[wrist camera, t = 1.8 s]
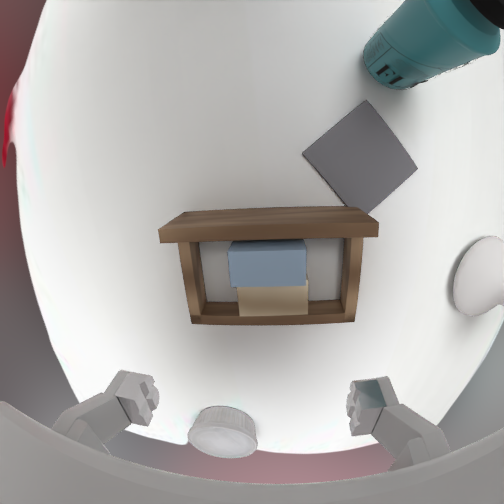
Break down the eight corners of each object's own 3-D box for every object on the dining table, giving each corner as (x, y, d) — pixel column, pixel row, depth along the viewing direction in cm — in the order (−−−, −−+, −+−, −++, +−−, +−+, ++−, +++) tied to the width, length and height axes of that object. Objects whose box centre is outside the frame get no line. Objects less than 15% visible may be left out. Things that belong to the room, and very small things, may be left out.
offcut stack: (239, 264, 30) (232, 282, 26) (304, 262, 30) (308, 280, 25) (242, 296, 32) (237, 318, 27) (304, 294, 31) (307, 316, 27)
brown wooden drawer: (184, 212, 29) (158, 229, 22) (356, 206, 27) (378, 222, 20) (198, 310, 33) (181, 345, 26) (348, 307, 31) (362, 344, 24)
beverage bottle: (354, 84, 22) (468, -5, 4) (358, 33, 20) (441, -76, 1) (410, 102, 22) (554, 68, 3) (412, 52, 20) (528, -14, 1)
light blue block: (240, 225, 29) (227, 252, 21) (298, 223, 28) (306, 250, 21) (242, 252, 30) (230, 287, 22) (299, 251, 29) (305, 285, 22)
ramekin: (270, 413, 39) (268, 439, 34) (245, 441, 43) (242, 463, 38) (204, 392, 38) (196, 418, 33) (188, 423, 42) (181, 445, 37)
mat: (365, 100, 23) (366, 99, 23) (416, 168, 25) (418, 168, 24) (302, 153, 26) (302, 153, 25) (358, 220, 27) (359, 221, 27)
